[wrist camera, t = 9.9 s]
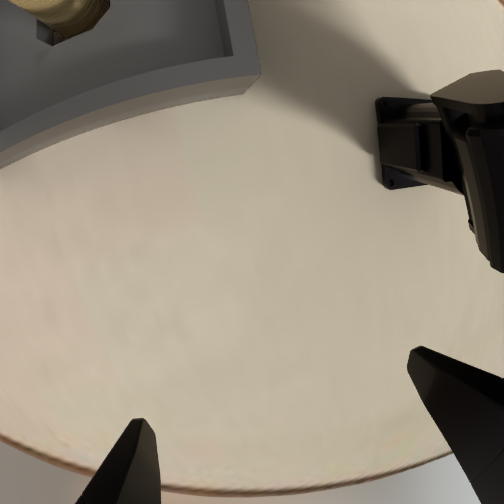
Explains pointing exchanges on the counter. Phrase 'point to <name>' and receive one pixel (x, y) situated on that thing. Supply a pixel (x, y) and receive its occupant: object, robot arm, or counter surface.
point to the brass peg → (66, 14)
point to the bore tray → (118, 67)
